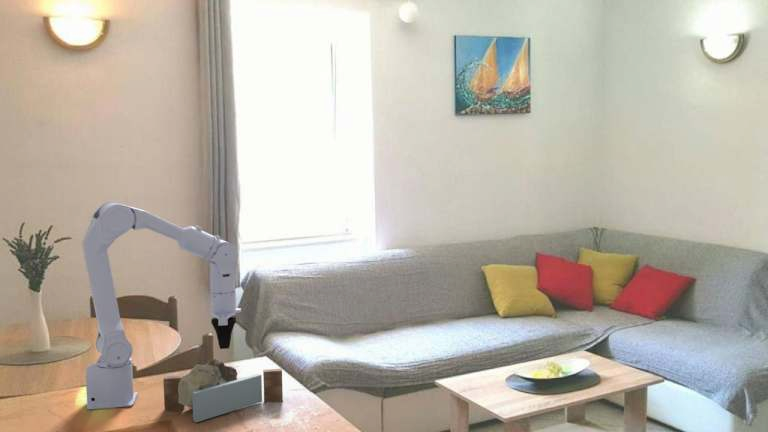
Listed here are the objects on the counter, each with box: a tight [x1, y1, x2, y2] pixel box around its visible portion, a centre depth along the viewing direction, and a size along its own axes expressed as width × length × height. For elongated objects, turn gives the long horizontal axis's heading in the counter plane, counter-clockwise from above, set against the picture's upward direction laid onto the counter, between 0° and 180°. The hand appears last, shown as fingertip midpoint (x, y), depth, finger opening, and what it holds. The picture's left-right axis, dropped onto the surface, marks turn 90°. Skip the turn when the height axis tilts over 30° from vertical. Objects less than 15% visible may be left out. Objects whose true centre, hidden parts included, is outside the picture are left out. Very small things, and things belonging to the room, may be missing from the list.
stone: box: [178, 358, 238, 410], centre depth 155 cm, size 11×14×10 cm
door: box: [192, 373, 263, 423], centre depth 151 cm, size 16×1×6 cm, turn 134°
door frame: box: [162, 368, 284, 412], centre depth 156 cm, size 25×2×7 cm, turn 101°
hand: (224, 347), depth 170 cm, fingers closed
